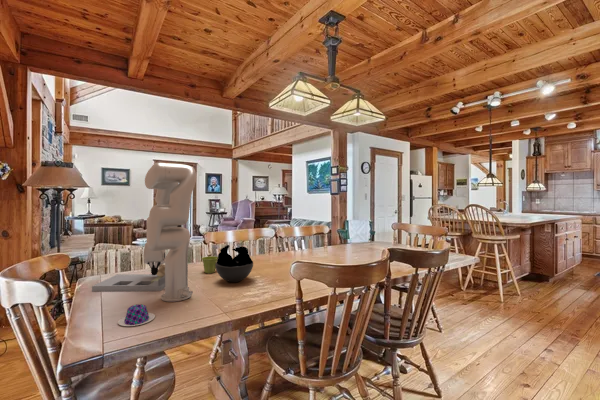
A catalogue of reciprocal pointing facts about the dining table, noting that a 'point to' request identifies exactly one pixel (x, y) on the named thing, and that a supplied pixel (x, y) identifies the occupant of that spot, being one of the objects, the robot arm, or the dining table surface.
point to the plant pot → (209, 264)
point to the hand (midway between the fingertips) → (154, 274)
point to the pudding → (136, 316)
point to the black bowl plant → (234, 264)
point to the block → (161, 270)
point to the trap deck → (131, 283)
